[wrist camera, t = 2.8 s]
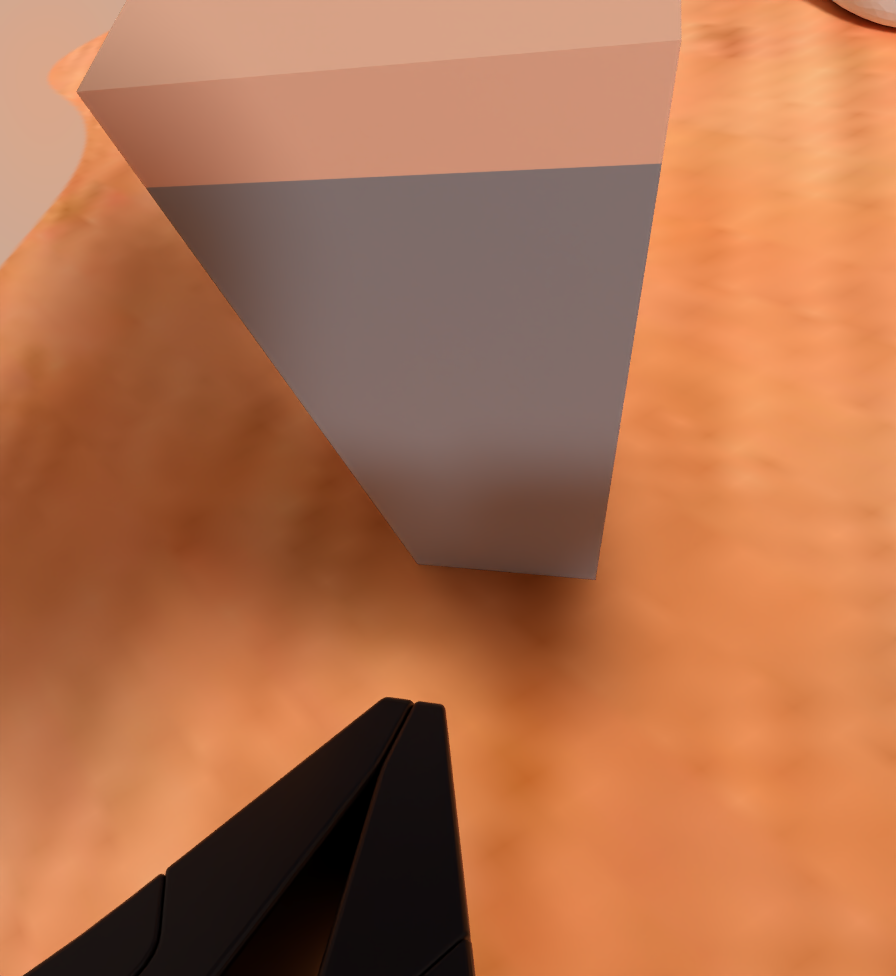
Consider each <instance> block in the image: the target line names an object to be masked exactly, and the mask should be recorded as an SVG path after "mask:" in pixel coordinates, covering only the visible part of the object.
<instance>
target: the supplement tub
mask: <svg viewBox="0 0 896 976" xmlns="http://www.w3.org/2000/svg"><path fill="white" fill-rule="evenodd" d="M832 1H834V2H835V3H837V4H838V5H840V6H841V7H842V8H844V9H846V10H848V11H850V12H852V13H854V14H856V15H858V16H860V17H862V18H865V19H868V20H870V21H873V22H876V23H879V24H882V25H887V26H891V27H896V0H832Z"/></svg>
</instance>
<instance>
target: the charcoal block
mask: <svg viewBox="0 0 896 976" xmlns="http://www.w3.org/2000/svg"><path fill="white" fill-rule="evenodd" d="M680 45H681V0H126V2H125V4H124V6H123V8H122V10H121V11H120V13H119V15H118V17H117V19H116V20H115V22H114V24H113V26H112V28H111V30H110V31H109V33H108V35H107V37H106V39H105V41H104V42H103V44H102V46H101V48H100V50H99V52H98V53H97V55H96V57H95V59H94V61H93V62H92V64H91V66H90V68H89V70H88V72H87V73H86V75H85V77H84V79H83V81H82V83H81V84H80V86H79V88H78V90H77V93H78V95H79V96H80V97H81V99H82V100H83V102H84V103H85V104H86V106H87V107H88V108H89V110H90V111H91V113H92V114H93V115H94V117H95V118H96V120H97V121H98V122H99V124H100V125H101V126H102V128H103V129H104V131H105V132H106V133H107V135H108V136H109V138H110V139H111V140H112V142H113V143H114V144H115V146H116V147H117V149H118V150H119V151H120V153H121V154H122V156H123V157H124V158H125V160H126V161H127V162H128V164H129V165H130V167H131V168H132V169H133V171H134V172H135V174H136V175H137V176H138V178H139V179H140V180H141V182H142V183H143V185H144V186H145V187H146V189H147V190H148V192H149V193H150V194H151V196H152V197H153V198H154V200H155V201H156V203H157V204H158V205H159V207H160V208H161V210H162V211H163V212H164V214H165V215H166V216H167V218H168V219H169V221H170V222H171V223H172V225H173V226H174V228H175V229H176V230H177V232H178V233H179V234H180V236H181V237H182V239H183V240H184V241H185V243H186V244H187V245H188V247H189V248H190V250H191V251H192V252H193V254H194V255H195V257H196V258H197V259H198V261H199V262H200V263H201V265H202V266H203V268H204V269H205V270H206V272H207V273H208V275H209V276H210V277H211V279H212V280H213V281H214V283H215V284H216V286H217V287H218V288H219V290H220V291H221V293H222V294H223V295H224V297H225V298H226V299H227V301H228V302H229V304H230V305H231V306H232V308H233V309H234V311H235V312H236V313H237V315H238V316H239V317H240V319H241V320H242V322H243V323H244V324H245V326H246V327H247V329H248V330H249V331H250V333H251V334H252V335H253V337H254V338H255V340H256V341H257V342H258V344H259V345H260V347H261V348H262V349H263V351H264V352H265V353H266V355H267V356H268V358H269V359H270V360H271V362H272V363H273V365H274V366H275V367H276V369H277V370H278V371H279V373H280V374H281V376H282V377H283V378H284V380H285V381H286V383H287V384H288V385H289V387H290V388H291V389H292V391H293V392H294V394H295V395H296V396H297V398H298V399H299V401H300V402H301V403H302V405H303V406H304V407H305V409H306V410H307V412H308V413H309V414H310V416H311V417H312V419H313V420H314V421H315V423H316V424H317V425H318V427H319V428H320V430H321V431H322V432H323V434H324V435H325V437H326V438H327V439H328V441H329V442H330V443H331V445H332V446H333V448H334V449H335V450H336V452H337V453H338V454H339V456H340V457H341V459H342V460H343V461H344V463H345V464H346V466H347V467H348V468H349V470H350V471H351V472H352V474H353V475H354V477H355V478H356V479H357V481H358V482H359V484H360V485H361V486H362V488H363V489H364V490H365V492H366V493H367V495H368V496H369V497H370V499H371V500H372V502H373V503H374V504H375V506H376V507H377V508H378V510H379V511H380V513H381V514H382V515H383V517H384V518H385V520H386V521H387V522H388V524H389V525H390V526H391V528H392V529H393V531H394V532H395V533H396V535H397V536H398V538H399V539H400V540H401V542H402V543H403V544H404V546H405V547H406V549H407V550H408V551H409V553H410V554H411V556H412V557H413V558H414V560H415V561H416V562H417V564H423V565H434V566H446V567H457V568H468V569H480V570H491V571H502V572H514V573H525V574H536V575H548V576H559V577H570V578H582V579H593V580H595V579H596V572H597V566H598V560H599V554H600V547H601V541H602V535H603V529H604V522H605V516H606V510H607V503H608V497H609V491H610V485H611V478H612V472H613V466H614V459H615V453H616V447H617V441H618V434H619V428H620V422H621V416H622V409H623V403H624V397H625V390H626V384H627V378H628V372H629V365H630V359H631V353H632V346H633V340H634V334H635V328H636V321H637V315H638V309H639V303H640V296H641V290H642V284H643V277H644V271H645V265H646V259H647V252H648V246H649V240H650V233H651V227H652V221H653V215H654V208H655V202H656V196H657V190H658V183H659V177H660V171H661V164H662V158H663V152H664V146H665V139H666V133H667V127H668V120H669V114H670V108H671V102H672V95H673V89H674V83H675V77H676V70H677V64H678V58H679V51H680Z"/></svg>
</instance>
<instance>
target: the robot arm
mask: <svg viewBox="0 0 896 976" xmlns="http://www.w3.org/2000/svg"><path fill="white" fill-rule="evenodd" d="M23 976H475V968H474V959H473V950H472V943H471V939H470V926H469V917H468V908H467V899H466V890H465V881H464V872H463V863H462V854H461V845H460V836H459V827H458V818H457V809H456V800H455V791H454V782H453V773H452V764H451V755H450V746H449V737H448V728H447V719H446V711H445V707H444V706H443V705H441V704H436V703H428V702H421V701H418V702H416V703H415V704H414V703H413V702H412V701H411V700H406V699H399V698H392V697H385V698H383V699H381V700H380V701H378V702H377V703H376V704H375V705H373V706H372V707H371V708H370V709H368V710H367V711H366V712H365V713H363V714H362V715H361V716H359V717H358V718H357V719H356V720H354V721H353V722H352V723H351V724H349V725H348V726H347V727H346V728H344V729H343V730H342V731H340V732H339V733H338V734H337V735H335V736H334V737H333V738H332V739H330V740H329V741H328V742H327V743H325V744H324V745H323V746H322V747H320V748H319V749H318V750H316V751H315V752H314V753H313V754H311V755H310V756H309V757H308V758H306V759H305V760H304V761H303V762H301V763H300V764H299V765H297V766H296V767H295V768H294V769H292V770H291V771H290V772H289V773H287V774H286V775H285V776H284V777H282V778H281V779H280V780H278V781H277V782H276V783H275V784H273V785H272V786H271V787H270V788H268V789H267V790H266V791H265V792H263V793H262V794H261V795H260V796H258V797H257V798H256V799H254V800H253V801H252V802H251V803H249V804H248V805H247V806H246V807H244V808H243V809H242V810H241V811H239V812H238V813H237V814H235V815H234V816H233V817H232V818H230V819H229V820H228V821H227V822H225V823H224V824H223V825H222V826H220V827H219V828H218V829H217V830H215V831H214V832H213V833H211V834H210V835H209V836H208V837H206V838H205V839H204V840H203V841H201V842H200V843H199V844H198V845H196V846H195V847H194V848H192V849H191V850H190V851H189V852H187V853H186V854H185V855H184V856H182V857H181V858H180V859H179V860H177V861H176V862H175V863H173V864H172V865H171V866H170V867H168V868H167V870H166V874H165V875H164V874H159V875H158V876H157V877H155V878H154V879H153V880H152V881H150V882H149V883H148V884H147V885H145V886H144V887H143V888H141V889H140V890H139V891H138V892H136V893H135V894H134V895H133V896H131V897H130V898H129V899H127V900H126V901H125V902H123V903H122V904H121V905H120V906H118V907H117V908H116V909H114V910H113V911H112V912H110V913H109V914H108V915H106V916H105V917H104V918H102V919H101V920H100V921H98V922H97V923H96V924H94V925H93V926H92V927H91V928H89V929H88V930H87V931H85V932H84V933H83V934H81V935H80V936H79V937H77V938H76V939H74V940H73V941H71V942H70V943H69V944H67V945H66V946H64V947H63V948H61V949H60V950H59V951H57V952H56V953H54V954H53V955H52V956H50V957H49V958H47V959H46V960H44V961H43V962H42V963H40V964H39V965H37V966H36V967H34V968H33V969H32V970H30V971H29V972H27V973H26V974H24V975H23Z"/></svg>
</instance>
